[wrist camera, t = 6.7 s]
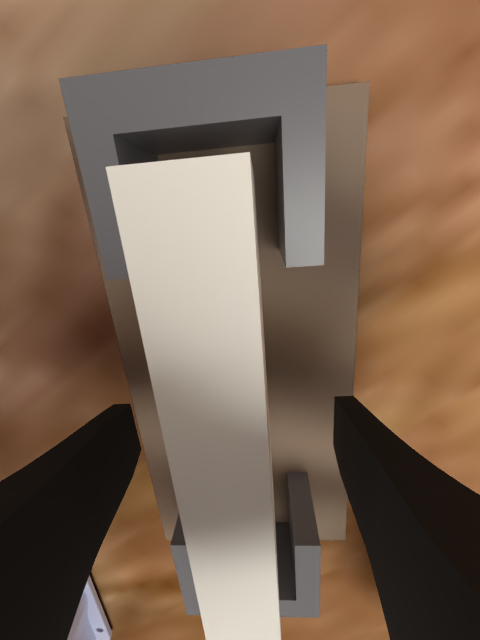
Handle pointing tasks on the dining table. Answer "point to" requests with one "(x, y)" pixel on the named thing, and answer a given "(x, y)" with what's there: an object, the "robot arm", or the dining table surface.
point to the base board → (281, 322)
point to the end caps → (212, 133)
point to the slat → (208, 373)
